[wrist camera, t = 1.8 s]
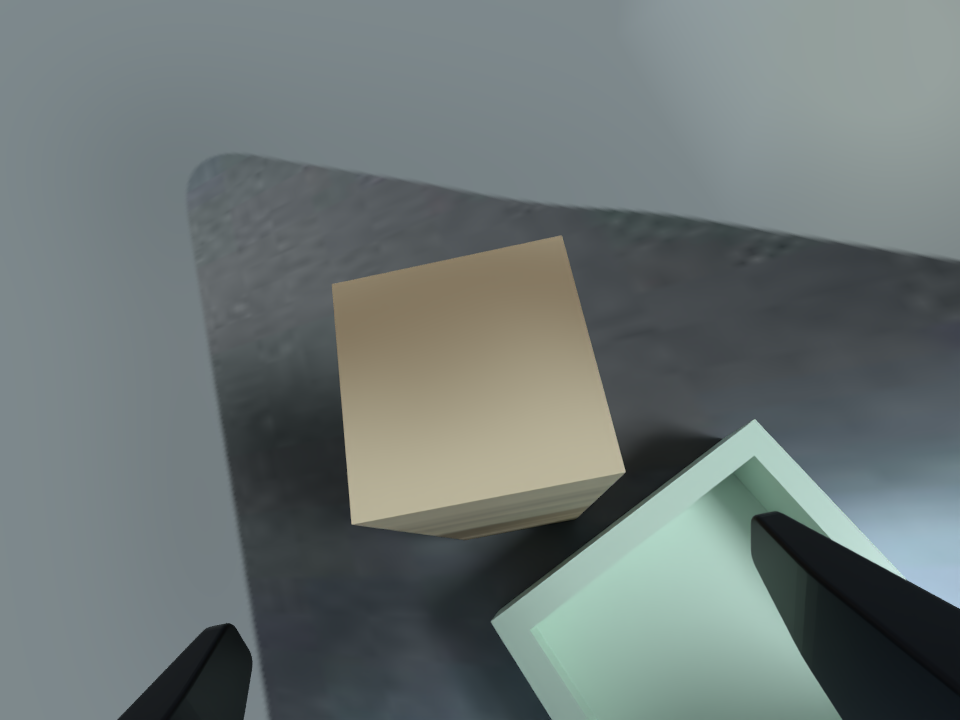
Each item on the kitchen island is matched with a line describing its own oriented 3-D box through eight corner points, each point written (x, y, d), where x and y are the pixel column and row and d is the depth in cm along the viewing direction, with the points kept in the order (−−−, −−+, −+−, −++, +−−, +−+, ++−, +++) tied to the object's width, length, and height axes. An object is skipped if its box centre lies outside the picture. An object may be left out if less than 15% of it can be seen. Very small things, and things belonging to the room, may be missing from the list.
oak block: (576, 519, 19) (625, 472, 7) (465, 540, 19) (351, 525, 8) (551, 411, 20) (562, 235, 9) (448, 432, 20) (331, 284, 9)
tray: (967, 708, 16) (1061, 743, 13) (709, 940, 15) (749, 1034, 12) (723, 438, 19) (754, 419, 16) (498, 610, 18) (490, 621, 15)
